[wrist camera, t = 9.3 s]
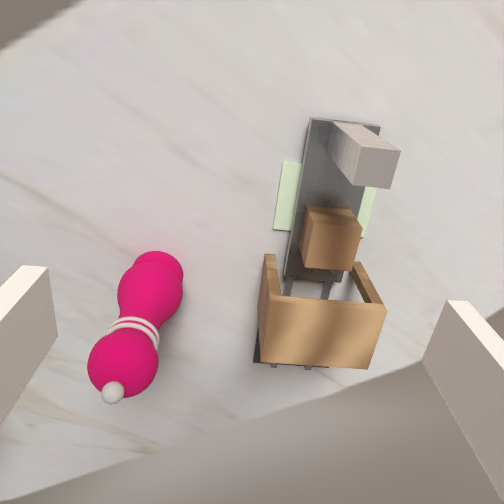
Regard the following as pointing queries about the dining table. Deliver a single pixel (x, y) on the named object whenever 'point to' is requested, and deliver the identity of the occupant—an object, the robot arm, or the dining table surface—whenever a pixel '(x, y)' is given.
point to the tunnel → (318, 324)
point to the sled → (337, 179)
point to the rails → (287, 293)
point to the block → (329, 238)
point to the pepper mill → (136, 327)
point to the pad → (289, 194)
